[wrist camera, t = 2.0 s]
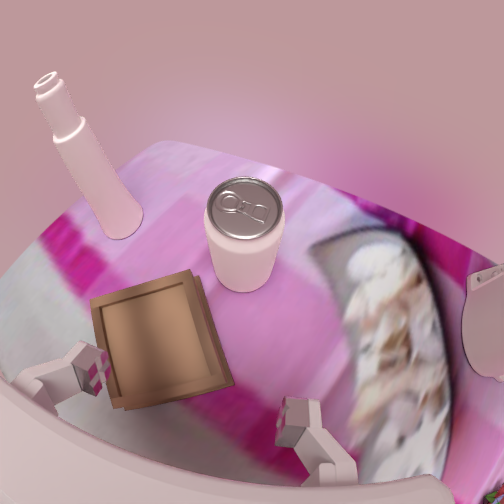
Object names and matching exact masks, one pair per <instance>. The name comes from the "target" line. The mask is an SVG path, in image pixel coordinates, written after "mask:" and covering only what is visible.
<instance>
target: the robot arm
mask: <svg viewBox="0 0 504 504" xmlns="http://www.w3.org/2000/svg"><path fill="white" fill-rule="evenodd" d="M462 337H463V344H464V349H465V352H466V355H467V358H468V360H469V363H470V364H471V366H472V368H473V369H474V370H475V371H476V372H477V373H478V374H479V375H481V376H484V377H494V378H495V379H496V380H497V381H498V382H504V264H501V265H498V266H495V267H492V268H489V269H486V270H482V271H479V272H476V273H473V274H470V275H469V276H468V277H467V298H466V302H465V306H464V310H463V317H462ZM108 358H109V356H108V352H106V351H104V350H102V349H100V348H97V347H95V346H93V345H90V344H88V343H86V342H83V341H79V342H78V343H77V344H76V345H75V346H74V347H73V348H72V349H71V350H70V351H69V352H68V353H67V354H66V356H65V357H64V358H63V359H60V358H59V359H56V360H53V361H50V362H46V363H43V364H40V365H37V366H33V367H30V368H27V369H23V371H22V372H21V373H20V374H19V375H18V376H17V377H16V378H15V379H14V380H13V381H12V382H11V383H9V382H7V381H6V380H5V379H4V378H2V377H1V376H0V504H455V501H454V497H453V494H452V492H451V490H450V488H449V487H447V486H446V485H445V484H444V483H442V482H441V481H440V480H439V479H437V478H436V477H434V476H433V475H431V474H423V475H419V476H414V477H409V478H404V479H399V480H393V481H387V482H380V483H372V484H363V485H359V483H358V476H357V468H356V462H355V461H354V460H353V459H352V457H351V456H350V455H349V454H348V453H347V452H346V451H345V450H344V449H343V448H342V446H341V445H340V444H339V443H338V442H337V441H336V440H335V439H334V438H333V436H332V435H331V434H330V433H329V432H328V431H327V430H326V428H322V419H321V409H320V401H319V400H318V399H307V398H298V397H289V396H285V397H284V398H283V400H282V406H281V407H280V408H279V411H278V414H277V419H276V427H277V428H278V429H277V432H276V434H275V446H281V447H290V448H294V450H295V452H296V453H297V455H298V457H299V458H300V460H301V461H302V463H303V465H304V466H305V468H306V469H307V471H308V472H309V474H310V476H309V477H308V478H307V479H306V480H305V481H304V482H303V483H302V484H301V487H294V486H277V485H266V484H257V483H249V482H242V481H235V480H229V479H224V478H218V477H213V476H209V475H204V474H200V473H196V472H192V471H188V470H184V469H180V468H177V467H173V466H170V465H167V464H163V463H160V462H157V461H154V460H151V459H148V458H145V457H143V456H140V455H137V454H135V453H132V452H129V451H127V450H124V449H122V448H120V447H117V446H115V445H113V444H110V443H108V442H106V441H104V440H102V439H99V438H97V437H95V436H93V435H91V434H89V433H87V432H85V431H83V430H81V429H79V428H78V427H76V426H74V425H72V424H70V423H68V422H67V421H65V420H63V419H61V418H60V417H58V412H57V410H56V408H55V407H54V405H56V404H58V403H60V402H62V401H64V400H66V399H68V398H70V397H72V396H74V395H76V394H78V393H80V392H82V391H84V392H86V393H89V394H91V395H93V396H95V397H96V396H97V395H98V393H99V392H100V390H101V389H102V383H104V382H106V381H107V380H108V378H109V376H110V373H111V365H110V363H109V362H108V360H107V359H108Z"/></svg>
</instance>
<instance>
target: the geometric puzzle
mask: <svg viewBox="0 0 504 504" xmlns="http://www.w3.org/2000/svg"><path fill="white" fill-rule="evenodd" d="M500 486H501V485H500ZM484 497H486V499H487V500H488V501H489V502H488V503H487V504H504V484H503V486H502V487H501V488H500V489H499V491H498V492H497V491H495V492H493V493H491V494H488V495H486V496H484ZM483 504H484V502H483Z"/></svg>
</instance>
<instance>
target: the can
mask: <svg viewBox="0 0 504 504" xmlns="http://www.w3.org/2000/svg"><path fill="white" fill-rule="evenodd" d="M204 226H205V232H206V237H207V241H208V246H209V250H210V254H211V258H212V263H213V267H214V270H215V273H216V276H217V278H218V279H219V281H220V282H221V283H222V284H223V285H224V286H225V287H227V288H228V289H230V290H232V291H236V292H251V291H254V290H256V289H258V288H260V287H261V286H263V285H264V284H265V283H266V281H267V280H268V279H269V277H270V274H271V272H272V269H273V265H274V262H275V259H276V255H277V252H278V249H279V245H280V242H281V238H282V234H283V230H284V226H285V214H284V210H283V205H282V201H281V198H280V196H279V194H278V193H277V191H276V190H275V189H274V188H273V187H272V186H271V185H270V184H268V183H266V182H265V181H263V180H260V179H257V178H253V177H236V178H232V179H229V180H226V181H224V182H223V183H221V184H220V185H218V186H217V187H216V188H215V189H214V190H213V191H212V193H211V194H210V196H209V199H208V202H207V207H206V209H205V213H204Z"/></svg>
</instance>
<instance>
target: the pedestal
mask: <svg viewBox="0 0 504 504" xmlns="http://www.w3.org/2000/svg"><path fill="white" fill-rule="evenodd" d="M90 307H91V314H92V320H93V326H94V332H95V337H96V342H97V347H98V348H100V349H102V350H104V351H106V352H108V356H109V358H108V359H107V360H108V362H109V363H110V365H111V373H110V376H109V378H108V380H107V381H106V385H107V389H108V392H109V396H110V399H111V403H112V406H113V409H115V408H122V407H124V409H125V411H126V410H132V409H138V408H143V407H149V406H154V405H158V404H163V403H168V402H172V401H177V400H181V399H185V398H189V397H193V396H197V395H201V394H204V393H208V392H212V391H215V390H219V389H222V388H226V387H229V386H232V385H235V384H234V381H233V378H232V376H231V373H230V370H229V367H228V364H227V361H226V359H225V356H224V353H223V350H222V347H221V344H220V341H219V338H218V335H217V332H216V329H215V326H214V322H213V319H212V316H211V313H210V310H209V307H208V303H207V300H206V297H205V293H204V290H203V287H202V283H201V280H200V277H199V275H198V276H195V277H193V275H192V272H191V270H190V269H189V270H185V271H182V272H179V273H175V274H172V275H169V276H165V277H162V278H159V279H155V280H152V281H149V282H146V283H142V284H139V285H136V286H132V287H129V288H126V289H122V290H119V291H116V292H113V293H109V294H106V295H103V296H99V297H96V298H93V299H90Z"/></svg>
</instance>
